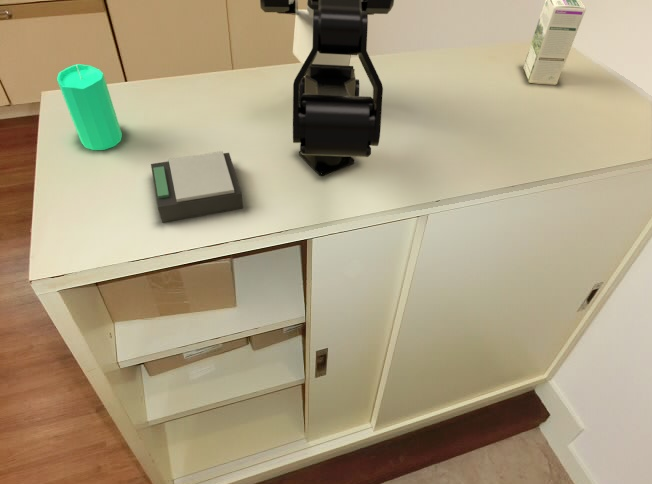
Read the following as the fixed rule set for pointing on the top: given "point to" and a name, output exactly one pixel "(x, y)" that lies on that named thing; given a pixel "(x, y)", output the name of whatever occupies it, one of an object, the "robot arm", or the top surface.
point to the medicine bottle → (305, 40)
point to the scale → (196, 186)
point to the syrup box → (553, 40)
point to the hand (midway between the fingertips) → (321, 12)
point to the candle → (90, 106)
